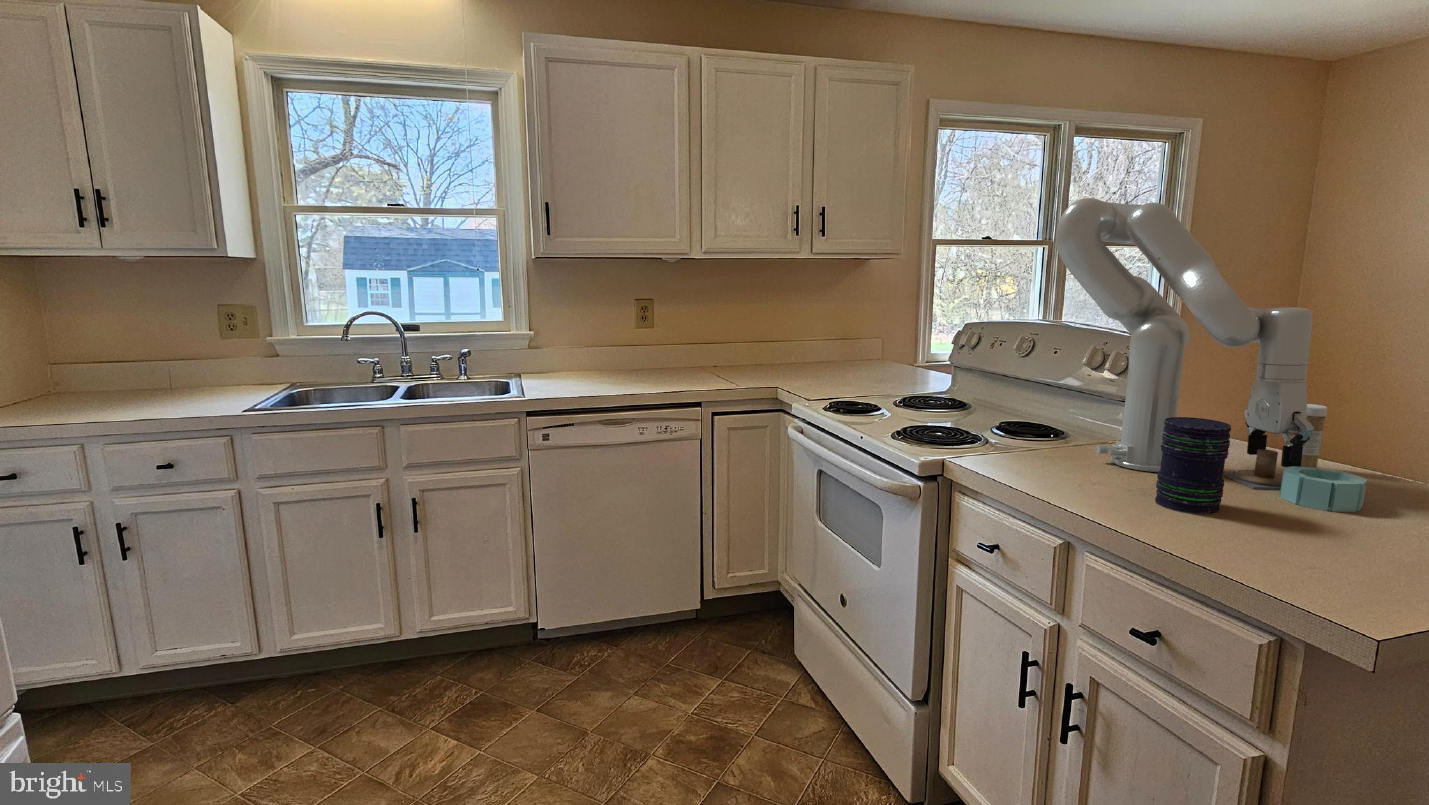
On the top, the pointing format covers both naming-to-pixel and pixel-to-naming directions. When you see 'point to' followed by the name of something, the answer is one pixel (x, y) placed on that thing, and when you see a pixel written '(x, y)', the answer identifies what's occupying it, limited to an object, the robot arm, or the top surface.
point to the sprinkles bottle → (1314, 435)
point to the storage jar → (1192, 465)
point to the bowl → (1323, 489)
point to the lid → (1262, 470)
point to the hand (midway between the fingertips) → (1272, 460)
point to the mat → (1251, 485)
